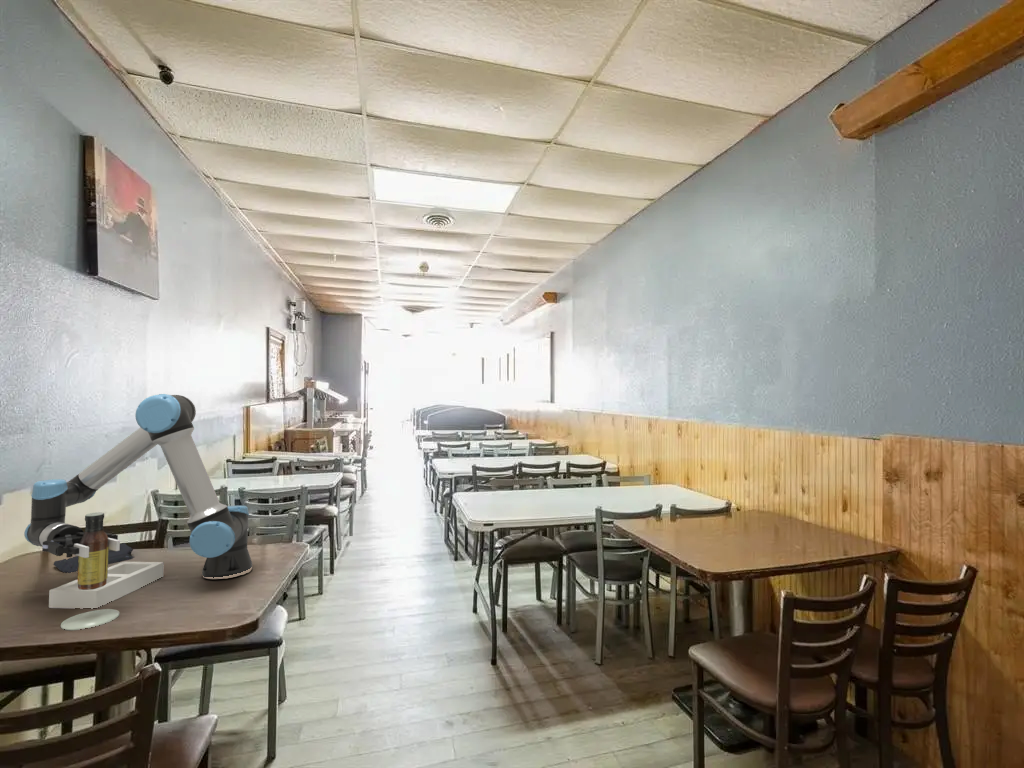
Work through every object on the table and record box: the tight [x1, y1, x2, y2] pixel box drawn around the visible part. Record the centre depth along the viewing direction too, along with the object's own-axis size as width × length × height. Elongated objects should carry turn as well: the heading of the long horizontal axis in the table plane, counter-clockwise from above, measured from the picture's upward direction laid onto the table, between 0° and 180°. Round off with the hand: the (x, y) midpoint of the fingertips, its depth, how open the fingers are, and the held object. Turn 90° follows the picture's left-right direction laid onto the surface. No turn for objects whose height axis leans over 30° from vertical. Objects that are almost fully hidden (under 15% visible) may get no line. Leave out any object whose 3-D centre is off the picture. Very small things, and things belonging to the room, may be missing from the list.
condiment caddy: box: [48, 561, 165, 610], centre depth 153 cm, size 14×26×5 cm, turn 178°
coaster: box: [60, 608, 120, 631], centre depth 133 cm, size 12×12×1 cm
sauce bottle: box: [77, 511, 109, 590], centre depth 134 cm, size 7×6×20 cm
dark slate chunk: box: [52, 542, 135, 574], centre depth 181 cm, size 15×22×5 cm
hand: (102, 549), depth 131 cm, fingers closed on sauce bottle, 6 cm apart
